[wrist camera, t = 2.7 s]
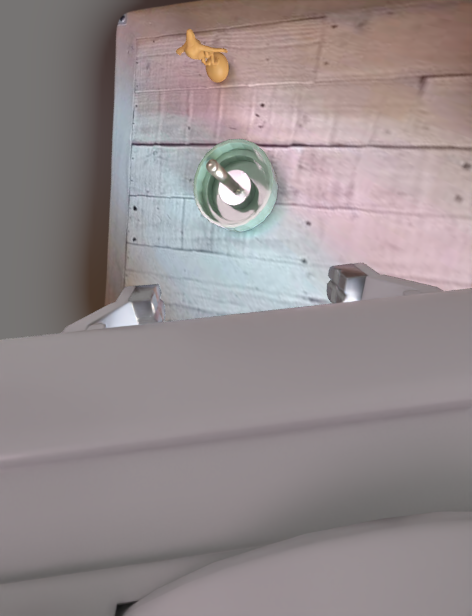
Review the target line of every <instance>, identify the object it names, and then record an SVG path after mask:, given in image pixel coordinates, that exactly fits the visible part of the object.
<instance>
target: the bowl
mask: <svg viewBox="0 0 472 616" xmlns="http://www.w3.org/2000/svg"><path fill="white" fill-rule="evenodd" d="M211 159H213V160H216V161H217V162H218V163H219V164H220V165H221V166H222V167H223V168H224V169H225V170H226V171H227V172H229V171H231V170H242V171H244V172H245V173H246V174H247V175H248V176H249V177H250V179H251V180H252V181H253V183H254V186H255V195H254V198H253V200H252V202H251V203H250V204H249V205H248V206H247V207H245V208H242V209H234V208H232V207H230V206H229V205H228V204H226V203H225V202H224V201H223V200H222V199H221V197H220V194H219V184H220V182H219V181H218V180H217V179H216V178H215V177H214V176H213V175H211V174H210V173H209V172H208V171H207V169H206V164H207V162H208V161H209V160H211ZM193 191H194V196H195V201H196V204H197V206H198V208H199V210H200V212H201V214H202V215H203V216H204V217H205V218H206V219H207V220H208V221H209V222H211V223H213V224H215V225H217V226H219V227H222V228H224V229H226V230H229V231H236V232H243V231H246V230H250V229H253V228H254V227H256V226H257V225H259V224H260V223H262V222H263V221H264V220H265V219H266V217H267V216H268V215H269V214H270V213H271V211H272V209H273V206H274V204H275V202H276V199H277V191H278V183H277V178H276V173H275V171H274V169H273V167H272V165H271V163H270V161H269V159H268V158H267V156H266V154H265V152H264V151H263V150H262V149H261V148H259V147H258V146H257V145H256V144H255V143H252V142H249V141H246V140H244V139H231V140H227V141H224V142H222V143H219V144H217V145H216V146H215V147H213V148H212V149H211V150H210V151H209V152H207V153H206V155H205V156H204V158H203V159H202V161H201V162H200V164H199V166H198V168H197V171H196V174H195V178H194V189H193Z"/></svg>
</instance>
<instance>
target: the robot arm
mask: <svg viewBox="0 0 472 616" xmlns="http://www.w3.org/2000/svg"><path fill="white" fill-rule="evenodd" d="M328 276H329V278H330V279H331V280H330V281H329V283H328V284H327V296H328V299H329V300H330V302H332V304H323V305H314V306H304V307H295V308H286V309H277V310H268V311H259V312H250V313H240V314H231V315H222V316H213V317H204V318H195V319H186V320H176V321H167V322H163V321H164V320H165V306H164V301H162V300H161V299H160V296H161V289H160V286H159V284H154V285H142V286H129V287H124V289H123V291H122V292H121V294H120V296H119V297H118V299H117V301H116V302H115V303H111V304H109V305H107V306H105V307H103V308H101V309H100V310H98V311H96V312H94V313H92V314H90V315H88V316H86V317H84V318H83V319H80V320H79V321H77V322H75V323H73V324H71V325H69V326H67V327H66V328H65V329H64V331H63V332H62V333H57V334H48V335H39V336H29V337H20V338H12V339H2V340H0V616H472V288H470V289H461V290H451V291H443V290H441V289H439V288H438V287H435V286H430V285H426V284H422V283H417V282H413V281H409V280H405V279H400V278H396V277H392V276H387V275H380V274H378V273H377V272H376V271H374V270H373V269H371V268H370V267H369V266H367V265H366V264H364V263H355V264H345V265H337V266H332V267H330V269H329V273H328Z"/></svg>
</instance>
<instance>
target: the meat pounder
mask: <svg viewBox="0 0 472 616" xmlns="http://www.w3.org/2000/svg"><path fill="white" fill-rule="evenodd" d="M206 169H207V171H208V172H209V173H210V174H211V175H213V176H214V177H215V178H216V179H217V180H218V181H219V182H220V184H219V194H220V197H221V199H222V200H223V201H224V202H225V203H226V204H228V205H229V206H230V207H232V208H234V209H242V208H245V207H247V206H248V205H249V204H250V203H251V202H252V200H253V198H254V195H255V186H254V183H253V181H252V180H251V179H250V177H249V176H248V175H247V174H246V173H245V172H244V171H242V170H231V171H229V172H227V171H226V170H225V169H224V168H223V167H222V166H221V165H220V164H219V163H218V162H217V161H216V160H213V159H211V160H209V161H208V162H207V164H206Z"/></svg>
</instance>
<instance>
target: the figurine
mask: <svg viewBox="0 0 472 616" xmlns="http://www.w3.org/2000/svg"><path fill="white" fill-rule="evenodd" d="M182 52H186V54H187V56H188V57H190V58H191V59H198V60H200V59H201V61H202V63H204V65H206V72H207V75H208V77H209V78H210V79H211V80H212V81H214V82H216V83H219V82H222V81H224V80H225V78H226V77H227V75H228V71H229V65H228V61H227V59H226V57H225V56H224V55H223V54H222V53H220V52H225V53H227V52H228V51H226V49H224V48H223V49H222V48H212V47H209V46H205V45H202V44H201V43H200V41H199V40H197V39H196V38H195V36H194V33H193V31H192V30H191V29H188V30H187V33H186V42H185V44H184V45H183V46H182V47H180V48H179V49H177V51H176V53H177V54H179V55H180V54H182ZM213 52H214V53H213ZM205 58H208V59H207V61H206V62H205Z"/></svg>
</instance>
